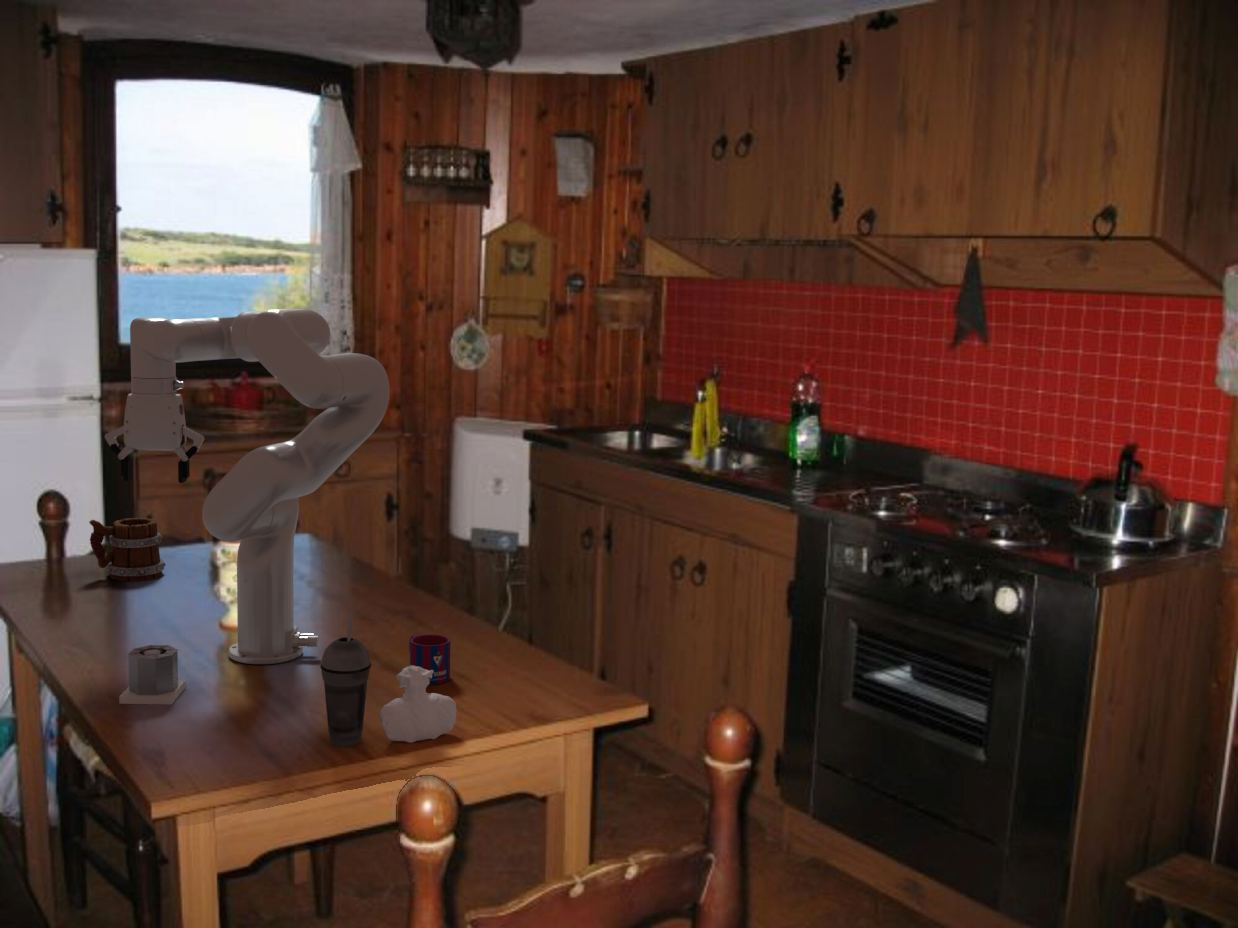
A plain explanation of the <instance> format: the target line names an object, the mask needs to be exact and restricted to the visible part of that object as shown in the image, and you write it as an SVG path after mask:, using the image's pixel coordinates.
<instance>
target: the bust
mask: <svg viewBox="0 0 1238 928" xmlns="http://www.w3.org/2000/svg"><path fill="white" fill-rule="evenodd" d="M433 672H434V671H433V670H430V671H428V670H426V669H423V668H421V667H420V666H419V667H417V666H414V665H413V666H412V665H410V664H409V665H408V666H406V667H404V668H402V669H401V671H400V672H399V673H398V674H397V675H395V679H396V680H397V681H399V689H402V688H404V687H405V689H404V693H403V695H402V697H397V698H394V699H392V700H391V701H389V702H388V703H386V704H384V706H383V707H382V708H381V710H380V712H379V714H378V717H379V720H380V723H381V726H382V728H383V731H384V733H385V734H386V737H387V739H389V740H390V741H391V742H392V741H393V742H406V743H410V744H412V743H414V742H418V741H424V740H425V741H426V740H430V739H431V740H436V739H437V738H438V737H440V736H441V735H445V734H447V733H449V732H450V731H452V729H453V728H454V726H455V724H456V720H457V704H456V702H455V700H454V699H452V698H451V697H450V696H448V695H443V694H440V693H437V692H436V693H435V692H431V693H428V692H427V691H426V689H427V687H428V686H430V685H429V683H430V682H429V678H432V674H433ZM428 677H429V678H428Z"/></svg>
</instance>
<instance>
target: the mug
mask: <svg viewBox="0 0 1238 928" xmlns="http://www.w3.org/2000/svg"><path fill="white" fill-rule="evenodd" d="M88 523H89V525H91V526H92V529H93V531H92V532H91V535H90V538H89V541H90V543H89V544H90V546H91V549H92V550H93V553H94V556H95V557H96V559H97V565H98V567H99V568H101V569H105V568H107V572H108V573H109V574H110V575H109V577H110V579H113V580H114V581H115V580H116V581H119V582H128V581H129V582H144V580H145V581H149V580H148V579H151V580H153V579H154V578H155V579H157V578H156V577H158V578H160V577H161V576H162V575H163V571H164V570H165V567H166V562H165V561H164V560H163V559H161V555H160V554H161V553H160V546H159V544H160V543H162V539H163V536H162V535H161V533H160V532H159V531H158V523H157V521H156V520H155V519H153V518H149V517H142V518H140V517H131V518H122V519H119V520H115V521H114V522H113V525H112V526H107V525H106V526H105V525H103V524H102V523H101V522H100V521H97V520H95V519H91V520H89V522H88ZM108 536H109V537H108ZM105 537H108V539H109V545H110V546H111V547H112V549H111V552H108V553H107V554H106V552H107V551H106V548H105V546H104V545H102V544H103V542H104V539H105ZM161 574H162V575H161ZM159 576H160V577H159Z"/></svg>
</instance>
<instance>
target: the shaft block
mask: <svg viewBox="0 0 1238 928" xmlns="http://www.w3.org/2000/svg"><path fill="white" fill-rule="evenodd" d="M156 655H160V650H147V651H145V652H144V656H156ZM186 688H187V680H185V679H184V680H181V679H178V686H177V687H176V689H175V690H174V691H173V692H169V693H165V694H161V695H137V694H135V693H133V692H131V691H129V686H128V687H127V688H126V689H124V691H123V692H121V694H120V695H119V697H118V700H119V701H118V702H119V705H166V706H167V705H169V706H170V705H173V704H174V702H176V700H177V699H178V698H179V696H181V694H182V693H183V692H184V690H186Z"/></svg>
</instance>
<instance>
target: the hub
mask: <svg viewBox="0 0 1238 928" xmlns="http://www.w3.org/2000/svg"><path fill="white" fill-rule="evenodd" d="M147 650H160V655H156V656H144V652H145V651H147ZM178 651H179V650H178V649H177V648H175V647H173V646H171V645H164V644H163V645H162V644H150V645H145V646H144V645H143V646H140V647H136V648H132V649H131V650H130V652H128V661H127V662H128V687H129V691H131V692H133V693H135V694H137V695H161V694H165V693H169V692H173V691H174V690H175V689H176V687H177V686H178V680H179V664H178V663H179V662H178V658H179V657H178V656H179V655H178Z"/></svg>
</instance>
